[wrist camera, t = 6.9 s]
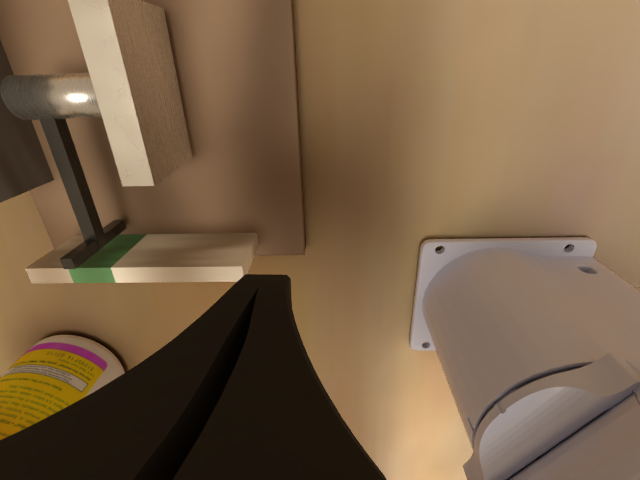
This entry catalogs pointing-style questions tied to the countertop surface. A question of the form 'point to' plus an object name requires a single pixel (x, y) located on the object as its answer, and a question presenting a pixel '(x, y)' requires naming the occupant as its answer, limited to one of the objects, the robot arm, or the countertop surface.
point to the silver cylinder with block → (110, 107)
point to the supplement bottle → (53, 379)
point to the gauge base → (204, 137)
